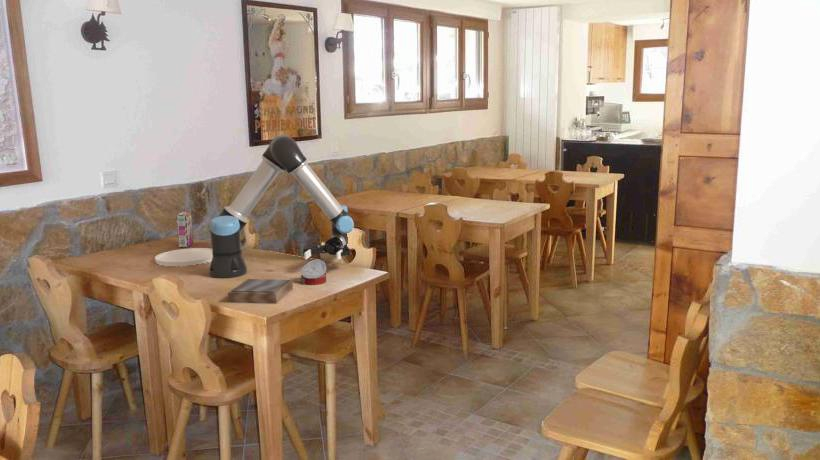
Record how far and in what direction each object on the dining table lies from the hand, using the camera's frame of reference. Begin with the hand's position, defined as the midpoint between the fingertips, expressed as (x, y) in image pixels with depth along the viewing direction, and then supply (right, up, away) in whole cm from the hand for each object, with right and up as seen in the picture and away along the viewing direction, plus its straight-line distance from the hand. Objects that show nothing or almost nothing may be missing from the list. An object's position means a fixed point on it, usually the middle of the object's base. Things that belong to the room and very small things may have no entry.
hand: (321, 256), depth 279 cm
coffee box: (-47, +1, +53) cm, 71 cm away
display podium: (-19, -13, -26) cm, 35 cm away
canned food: (-2, -10, -9) cm, 14 cm away
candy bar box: (-76, +3, +64) cm, 100 cm away
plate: (-66, -3, +35) cm, 75 cm away
